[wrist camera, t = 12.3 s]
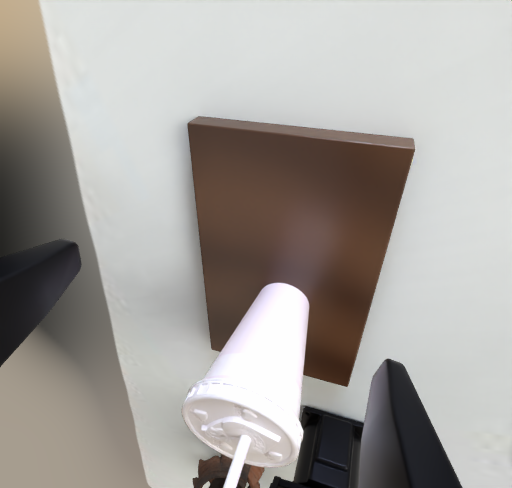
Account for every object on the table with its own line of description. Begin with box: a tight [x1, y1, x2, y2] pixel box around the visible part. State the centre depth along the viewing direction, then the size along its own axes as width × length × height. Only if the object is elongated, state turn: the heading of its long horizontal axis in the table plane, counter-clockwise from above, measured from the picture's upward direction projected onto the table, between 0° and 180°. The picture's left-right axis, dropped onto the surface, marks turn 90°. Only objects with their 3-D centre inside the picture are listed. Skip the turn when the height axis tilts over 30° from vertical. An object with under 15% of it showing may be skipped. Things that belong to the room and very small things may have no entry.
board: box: [188, 116, 415, 387], centre depth 24 cm, size 20×12×2 cm, turn 0°
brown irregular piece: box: [193, 454, 264, 488], centre depth 44 cm, size 12×10×8 cm
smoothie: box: [182, 283, 309, 488], centre depth 20 cm, size 6×6×14 cm
